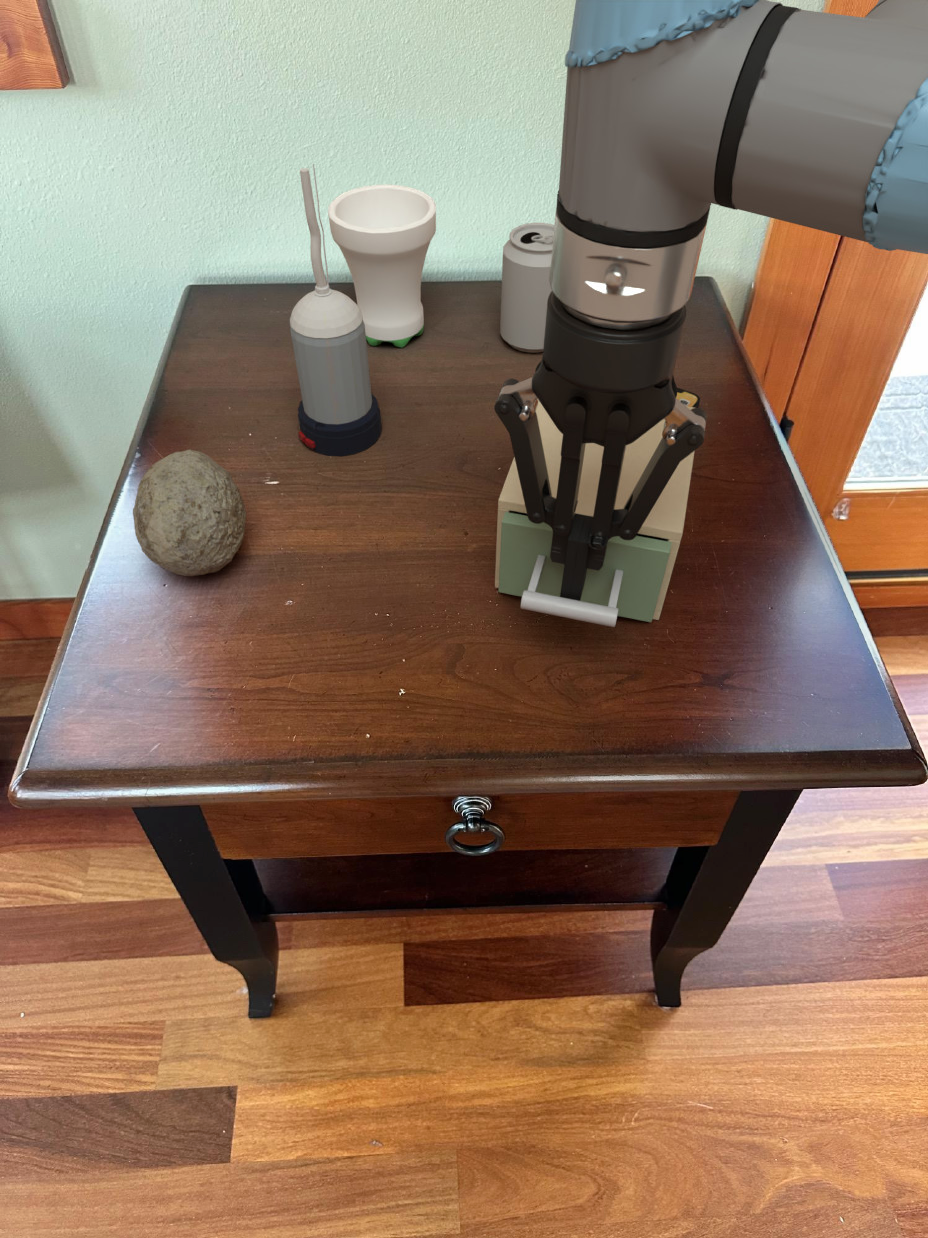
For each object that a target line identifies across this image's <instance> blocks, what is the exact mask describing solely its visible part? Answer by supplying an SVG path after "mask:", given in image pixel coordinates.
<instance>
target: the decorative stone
mask: <svg viewBox="0 0 928 1238" xmlns="http://www.w3.org/2000/svg"><path fill="white" fill-rule="evenodd" d="M132 516H133V525H134V526H133V527H134V532H135V537H136V540H137V541H138V544H139V545H140V547H141V551H142V552H143V553H144V555H145V556H146V557H147V558H148V559H149V560H150V561H152V562H153V563H155V564H156V565H157V566H159V567H161V568H163V570H166V571H169V572H171V573H173V574H175V575H178V576H179V575H180V576H183V577H184V576H185V577H195V576H204V575H207V574H212V573H217V572H219V571H221V569H223V568H224V567H225V566H227V565H228V564H229V563H230V562H232V560H233V558H234V557H235V554H237V552H238V551H239V548H240V547H241V545H242V544H243V541H244V537H245V532H246V531H245V529H246V526H245V525H246V519H247V510H246V505H245V501H244V500H243V497H242V494H241V493H240V488H239V487H238V486H237V484H236V482H234V479H233V477H232V476H231V474H230V473H229V472H228V470H226V469H225V468H224V467H223V466H221V465H220V464H218V462H216V461H215V460H214V459H212V458H211V457H210V456H209V455H208V454H206V453H204V452H202V451H198V450H194V449H190V448H189V449H187V450H183V451H175V452H173V453H170V454H169V455H167V456H165V457H163V458H161V459H159V460H158V461H156V462H154V463H153V464H152V465H151V466H150V467H149V468H148V469H147V470H146V471H145V473H144V474H143V475H142V477H141V480H140V481H139V483H138V485H137V493H136V497H135V501H134V505H133V508H132Z"/></svg>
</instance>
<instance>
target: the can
mask: <svg viewBox="0 0 928 1238" xmlns="http://www.w3.org/2000/svg"><path fill="white" fill-rule="evenodd" d="M554 225H555V224H553V223H548V222H527V223H524V224H520V225H518V226H516V227H514V228H513V229H512V230H511V231H510V232H509V237H508V238H509V239H507V241H506V242H505V243H504V245H503V246H502V265H501V266H502V267H501V295H500V296H501V297H500V320H499V321H500V324H499V334H500V336H501V338H502V339H503V340H504V341H505V342H506V343H508V345H510V347H512V348H513V349H515V350H517V351H519V352H524V353H533V354H534V353H536V354H537V353H543V347H544V336H545V324H546V313H547V301H548V297H549V295H550V293H551V291H552V290H551V286H550V281H549V277H550V267H551V256H552V246H553V235H554Z"/></svg>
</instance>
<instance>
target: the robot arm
mask: <svg viewBox="0 0 928 1238" xmlns="http://www.w3.org/2000/svg"><path fill="white" fill-rule="evenodd" d="M574 3H575V4H574V11H573V20H572V24H571V25H572V26H571V32H570V39H569V47H568V48H569V49H568V50H567V52H566V54H565V56H564V67H566V68H567V69H566V84H565V96H564V97H565V98H564V110H563V124H562V140H561V151H560V152H561V153H560V167H559V181H558V191H557V194H556V208H555V215H554V224H553V225H554V235H553V246H552V256H551V267H550V277H549V281H550V286H551V290H552V291H551V293H550V295H549V297H548V301H547V313H546V324H545V336H544V347H543V352H542V359H541V360H540V361H539V363H537V365H536V368H535V371H534V373H533V375H532V377H528V378H527V379H524V380H521V381H519V380H517V379H516V378H513V377H512V378H507V379H506V380H505V381H504V382H503V384H502V386H501V389H500V392H499V394H498V396H497V399H496V401H495V403H494V412H495V413H496V415H497V417H498V418H499V420H500V421H501V423H502V424H503V426H504V427H505V429H506V431H507V432H508V434H509V439H510V443H511V447H512V452H513V458H514V457H515V462H516V466H517V471H518V475H519V480H520V484H521V489H522V493H523V498H524V502H525V507H526V512H527V516H528V519H529V520H530V521H531V522H533V523H535V524H540V523H542V522H544V523H546V524H548V525H549V526H550V527H551V528H552V530H553V536H552V544H551V553H550V558H551V560H552V562H555V563H560V564H564V571H563V579H562V586H561V593H560V597H563V598H568V599H573V600H578V601H580V599H581V595H582V591H583V587H584V583H585V578H586V573H587V568H588V569H593V570H598V571H599V570H600V569H601V568H602V567H603V563H604V559H605V554H606V549H607V544H608V540H609V539H610V538H612V537H616V536H619V537H620V538H622V539H623V540H632V539H634V538H635V537H636V535H637V533H638V532H639V530H640V528H641V527H642V525H643V523H644V522H645V520H646V518H647V517H648V515H649V513H650V512H651V510H652V508H653V507H654V505H655V503H656V502H657V500H658V498H659V496H660V495H661V493H662V491H663V490H664V488H665V486H666V485H667V483H668V481H669V480H670V478H671V476H672V475H673V473H674V471H675V470H676V468H677V466H678V465H679V463H680V462H681V461H682V460H683V459H685V458H686V457H687V456H688V455H690V454H691V453H692V452H694V451H695V452H696V450H698V449H699V448H700V447H701V446H702V445H703V444H704V442H705V441H704V440H705V434H706V428H707V420H708V413H707V412H706V410H705V409H703V408H701V407H698V408H693V409H691V410H690V409H689V408H687V407H686V406H685V405H684V404H683V403H681V402H680V401H679V400H678V399H677V398H676V396H677V388H678V385H677V383H676V380H675V376H674V371H675V367H676V364H677V363H676V362H677V358H678V353H679V349H680V345H681V341H682V335H683V331H684V327H685V323H686V318H687V307H686V304H687V303H689V299H690V298H691V295H692V291H693V287H694V283H695V278H696V274H697V269H698V265H699V260H700V256H701V251H702V246H703V243H704V239H705V233H706V229H707V224H708V220H709V215H710V211H711V206H712V204H713V205H716V206H717V205H718V206H719V207H723V208H727V209H731V210H736V211H737V210H739V211H743V212H747V213H751V214H754V215H759V216H762V217H763V216H764V217H766V218H771V219H775V220H778V221H783V222H786V223H790V224H794V225H798V226H802V227H805V228H809V229H814V230H818V231H822V232H824V233H825V232H826V233H829V234H834V235H837V236H840V237H845V238H849V239H853V240H856V241H860V242H865V243H868V245H871V246H872V247H873V248H875V249H878V250H884V251H888V252H892V251H897V250H898V251H906V252H911V253H918V254H924V255H928V0H878V2H877V3H876V5H874V7H872V9H871V10H870V11H868V13H866V15H865V16H863V17H862V16H854V15H853V16H852V15H846V14H838V13H830V12H822V11H816V10H815V11H814V10H807V9H802V8H798V7H795V6H788V5H783V4H782V3H781V2H777V1H772V0H575V2H574ZM537 398H538V400H539V401H540V403H541V404H542V406H543V407H544V409H545V410H546V412H547V413H548V415H549V417H550V418H551V420H552V421H553V423H554V424H555V426H556V427H557V429H558V430H559V431H560V432H561V433H562V434H563V439H562V447H561V463H560V471H559V479H558V488H557V496H556V498H554V497H552V493H551V487H550V482H549V477H548V471H547V466H546V461H545V456H544V450H543V445H542V440H541V434H540V429H539V424H538V418H537V414H536V409H537V406H538V400H537ZM663 419H665V422H664V427H663V432H662V436H663V438H662V439H661V441H660V443H659V445H658V447H657V448H656V450H655V452H654V454H653V456H652V457H651V459H650V461H649V463H648V465H647V466H646V468H645V470H644V472H643V474H642V475H641V477H640V479H639V481H638V483H637V484H636V486H635V488H634V490H633V492H632V493H631V495H630V497H629V499H628V501H627V502H626V504H625V506H624V508H623V509H616V510H614V508H615V503H616V497H617V492H618V487H619V481H620V476H621V471H622V465H623V460H624V454H625V449H626V445H629V444H631V443H633V442H634V441H636V440H637V439H638V438H640V437H641V436H642V435H643V434H645V433H646V432H647V431H649V430H650V429H651V428H652V427H654V426H655V425H656V424H658V423H659V422H660V421H661V420H663ZM586 443H595V444H598V445H600V446H603V447H604V450H603V456H602V466H601V472H600V478H599V484H598V490H597V496H596V503H595V509H594V515H593V516H587V515H582V514H576V513H575V511H576V507H577V503H578V501H577V500H578V493H579V486H580V479H581V473H582V466H583V459H584V452H585V446H586ZM695 452H694V453H695Z"/></svg>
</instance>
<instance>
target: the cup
mask: <svg viewBox="0 0 928 1238" xmlns="http://www.w3.org/2000/svg"><path fill="white" fill-rule="evenodd" d="M327 214H328V215H327V216H328V221H329V228H330V235H331V237H332V240H333V242H335V244H336V245H337V246H338V247H339V250H340V251H341V253H342V255H343V258H344V259H345V262H346V265H347V267H348V270H349V273H350V275H351V278H352V283H353V285H354V286H353V287H354V292H355V298H356V304H357V305H358V307H359V309H360V310H361V312H362V315H363V321H364V324H365V333H366V342H367V344H368V345H370V346H372V347H377V346H379V345H381V344H382V343H384V342H385V343H391V344H392V345H393V346H395V347H397V348H404V347H405V346H407V345H408V343H409V342H410V340H411V339H412V338H413V337H419V336H421V335H423V332H424V328H425V321H424V320H425V319H424V318H425V317H424V306H423V303H422V301H421V298H422V297H421V293H422V292H421V289H422V288H421V287H422V277H423V271H424V267H425V261H426V258H427V254H428V250H429V248H430V244H431V241H432V240H433V238H434V236H435V235H436V232H437V204H436V202H435V200H434V198H432V197H431V196H430V195H428V194H427V193H426V192H424V191H422V190H419V189H417V188H413V187H409V186H404V185H399V184H373V185H364V186H361V187H357V188H353V189H350V190H347V191H345V192H342V193H341V194H340V195H338V196H336V197H335V198H334V199H333V200H332V202H330V204H329V205H328V210H327Z"/></svg>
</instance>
